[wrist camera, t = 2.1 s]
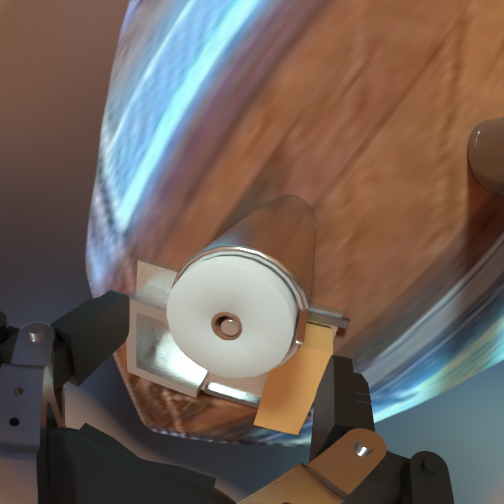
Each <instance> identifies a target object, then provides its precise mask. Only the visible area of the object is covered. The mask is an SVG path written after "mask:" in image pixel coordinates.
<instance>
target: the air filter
mask: <svg viewBox="0 0 504 504" xmlns="http://www.w3.org/2000/svg"><path fill="white" fill-rule="evenodd" d="M315 228H316V217H315V214H314V211H313V209H312V208H311V206H310V205H309V204H308V203H307V202H306V201H305V200H304V199H302V198H300V197H298V196H294V195H281V196H277V197H275V198H273V199H272V200H270V201H269V202H267V203H266V204H265V205H263V206H262V207H260V208H259V209H258V210H256V211H255V212H253V213H252V214H251V215H249V216H248V217H246V218H245V219H244V220H242V221H241V222H239V223H238V224H237V225H235V226H234V227H233V228H231V229H230V230H228V231H227V232H226V233H224V234H223V235H222V236H220V237H219V238H217V239H216V240H215V241H213V242H212V243H211V244H209V245H208V246H207V247H205V248H204V249H202V250H201V251H200V252H198V253H197V254H196V255H194V256H193V257H192V258H190V259H189V260H188V261H187V262H186V263H185V264H184V266H183V267H182V268H181V269H180V271H179V272H178V273H177V275H176V278H175V280H174V283H173V285H172V288H171V289H172V290H171V293H170V296H169V298H168V301H167V314H166V316H167V320H168V325H169V329H170V332H171V334H172V337H173V339H174V341H175V344H176V345H177V346H178V347H179V349H180V350H181V351H182V352H183V353H184V355H185V356H187V357H188V358H189V359H190V360H192V361H193V362H194V363H195V364H197V365H198V366H200V367H202V368H203V369H205V370H206V371H208V372H210V373H212V374H215V375H219V376H222V377H226V378H247V377H256V376H259V375H261V374H263V373H266V372H268V371H270V370H273V369H275V368H278V367H280V366H282V365H283V364H285V363H286V362H287V361H288V360H290V359H291V358H292V357H293V356H295V354H296V353H297V351H298V350H299V349H300V347H301V346H302V344H303V343H304V339H305V330H306V321H307V312H308V309H309V307H310V295H311V283H312V270H313V256H314V241H315Z"/></svg>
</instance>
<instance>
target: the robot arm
mask: <svg viewBox="0 0 504 504" xmlns="http://www.w3.org/2000/svg"><path fill="white" fill-rule="evenodd" d="M468 159H469V163H470V168H471V170H472V172H473V175H474V176H475V178H476V180H477V181H478V182H479V183H480V184H481V186H482V187H484V188H485V189H486V190H488V191H490V192H493V193H497V194H501V195H504V117H501V118H496V119H491V120H487V121H484V122H481V123H480V124H479V125H477V126H476V128H475V129H474V130H473V132H472V134H471V136H470V139H469V143H468ZM129 328H130V299H129V297H128V296H127V295H125V294H122V293H119V292H116V291H114V290H110V291H108V292H107V293H105V294H104V295H102V296H101V297H97V298H93V299H90V300H87V301H85V302H83V303H82V304H81V305H79V306H78V307H76V308H74V309H73V310H72V311H70V312H68V313H67V314H65V315H64V316H62V317H61V318H59V319H57V320H56V321H55V322H53V323H52V324H50V325H48V324H45V323H41V322H34V323H30V324H27V325H25V326H23V327H22V328H21V329H18V328H15V327H11V326H8V322H7V317H6V315H5V314H4V313H3V312H1V311H0V504H454V500H453V493H452V488H451V482H450V477H449V472H448V468H447V465H446V463H445V461H444V460H443V459H442V458H441V457H440V456H439V455H437V454H435V453H433V452H429V451H421V452H418V453H416V454H415V455H413V457H412V458H411V459H408V458H405V457H402V456H399V455H396V454H394V453H391V452H389V451H388V450H387V447H386V443H385V442H384V440H383V439H382V438H381V437H380V436H379V435H378V434H377V433H375V428H374V420H373V413H372V406H371V404H370V403H371V399H370V396H369V394H370V393H369V386H368V383H367V382H366V380H365V379H364V377H363V376H362V374H358V373H353V365H352V359H351V358H346V357H341V356H337V355H331V357H330V359H329V361H328V363H327V366H326V368H325V371H324V373H323V376H322V378H321V381H320V383H319V386H318V388H317V392H316V395H315V401H314V414H313V426H312V438H311V448H310V459H309V464H307V465H304V464H302V463H301V464H299V465H297V466H295V467H294V468H292V469H291V470H289V471H288V472H286V473H285V474H283V475H282V476H281V477H279V478H277V479H276V480H274V481H273V482H271V483H270V484H268V485H267V486H265V487H263V488H262V489H261V490H258V491H257V492H255V493H254V494H252V495H250V496H249V497H247V498H245V499H243V500H242V501H240V502H238V503H236V502H235V501H233V500H232V499H231V498H230V497H228V496H227V495H226V494H224V493H223V492H221V491H219V490H218V489H216V488H214V486H215V482H216V478H214V477H210V476H207V475H204V474H201V473H198V472H195V471H192V470H189V469H186V468H183V467H181V466H174V465H169V464H163V463H157V462H152V461H147V460H143V459H141V458H139V457H138V456H136V455H135V454H134V453H132V452H131V451H130V450H128V449H127V448H126V447H125V446H123V445H122V444H121V443H120V442H118V441H117V440H116V439H115V438H113V437H111V436H109V435H107V434H105V433H103V432H101V431H100V430H98V429H96V428H94V427H92V426H90V425H89V424H87V423H85V424H84V425H83V426H82V427H81V428H80V430H78V429H73V428H66V426H65V387H64V384H65V383H66V382H67V381H69V382H71V383H72V384H74V385H76V386H79V385H80V384H82V382H84V381H85V380H86V379H87V378H88V377H89V376H90V375H91V374H92V373H93V372H94V371H95V370H96V369H97V368H98V367H99V366H100V365H101V364H102V363H103V362H104V361H105V360H106V359H107V358H108V357H109V356H111V355H112V354H113V353H114V352H115V351H116V350H117V349H118V348H119V347H120V346H121V345H122V344H123V343H124V342H125V341H126V339H127V337H128V334H129Z"/></svg>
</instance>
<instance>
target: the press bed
mask: <svg viewBox="0 0 504 504" xmlns="http://www.w3.org/2000/svg"><path fill="white" fill-rule="evenodd" d="M180 269H181V268H179V267H176V266H172V265H168V264H165V263H161V262H158V261H155V260H151V259H148V258H144V257H143V258H141V259H140V260H138V268H137V288H136V291H135V292H134V293H133V294H131V295H130V296H129V299H130V328H129V334H128V337H127V368H128V372H130V373H133V374H135V375H137V376H140V377H142V378H145V379H147V380H149V381H152V382H154V383H157V384H160V385H162V386H165V387H167V388H170V389H173V390H175V391H178V392H181V393H184V394H187V395H189V396H192V397H195V398H196V397H197V395H198V393H199V391H200V390H201V389H202V390H204V393H207V394H210V395H213V396H216V397H220V398H223V399H226V400H229V401H233V402H236V403H240V404H243V405H247V406H251V407H254V408H259V405H260V401H261V398H262V394H263V391H264V388H265V385H266V381H267V378H268V374H269V371H268V372H266V373H263V374H261V375H259V376H256V377H247V378H226V377H222V376H219V375H215V374H212V373H210V372H208V371H206V370H205V369H203V368H202V367H200V366H198V365H197V364H195V363H194V362H193V361H192V360H190V359H189V358H188V357H187V356H185V355H184V353H183V352H182V351H181V350H180V349H179V347H178V346H177V345H176V344H175V341H174V339H173V337H172V334H171V332H170V329H169V325H168V320H167V316H166V314H167V301H168V298H169V296H170V293H171V290H172V289H171V288H172V285H173V283H174V280H175V278H176V275H177V273H178V272H179V271H180ZM306 323H309V324H313V325H318V326H322V327H326V328H330V329H332V339H333V340H334V337H335V334H336V332H337V329H338V327H341V328H345V329H347V328H348V326H349V323H350V320H349V319H348V318H343V317H342V310H341V309H337V308H333V307H329V306H325V305H320V304H316V303H312V302H310V307H309V309H308V312H307V321H306ZM310 417H311V412H308V414H307V416H306V419H305V420H309V419H310Z"/></svg>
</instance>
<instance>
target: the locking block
mask: <svg viewBox="0 0 504 504" xmlns="http://www.w3.org/2000/svg"><path fill="white" fill-rule="evenodd" d="M331 355H333V339H332V329H330V328H326V327H322V326H318V325H313V324H309V323H306V330H305V339H304V343H303V344H302V346H301V347H300V349H299V350H298V351H297V353H296V354H295V356H293V357H292V358H291V359H290V360H288V361H287V362H286V363H285V364H283V365H282V366H280V367H278V368H275V369H273V370H270V371H269V374H268V378H267V381H266V385H265V388H264V391H263V394H262V398H261V401H260V405H259V408H258V411H257V415H256V418H255V421H254V425H257V426H261V427H265V428H269V429H273V430H277V431H281V432H286V433H290V434H295V435H298V434H299V431H300V429H301V427H302V425H303V423H304V421H305V419H306V416H307V414H308V412H309V410H310V408H311V405H312V403H313V401H314V398H315V395H316V392H317V388H318V386H319V383H320V381H321V378H322V376H323V373H324V371H325V368H326V366H327V363H328V361H329V359H330V357H331Z"/></svg>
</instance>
